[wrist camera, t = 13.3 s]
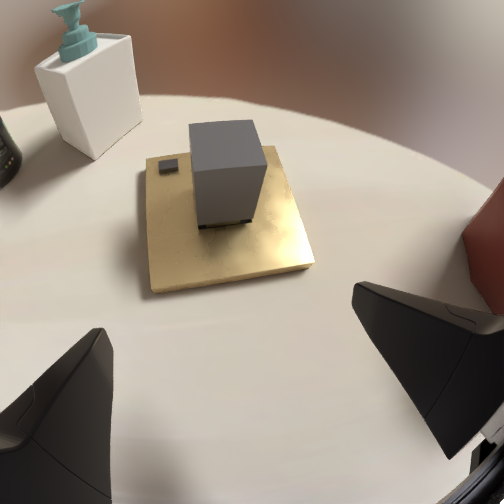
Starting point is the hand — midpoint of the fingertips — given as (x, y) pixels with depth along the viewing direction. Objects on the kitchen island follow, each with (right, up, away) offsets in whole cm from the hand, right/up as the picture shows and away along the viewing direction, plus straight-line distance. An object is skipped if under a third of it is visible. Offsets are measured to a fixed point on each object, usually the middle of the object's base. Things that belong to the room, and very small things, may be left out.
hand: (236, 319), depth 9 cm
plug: (-2, +6, +17) cm, 18 cm away
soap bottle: (-20, +18, +20) cm, 34 cm away
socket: (-3, +6, +17) cm, 18 cm away
